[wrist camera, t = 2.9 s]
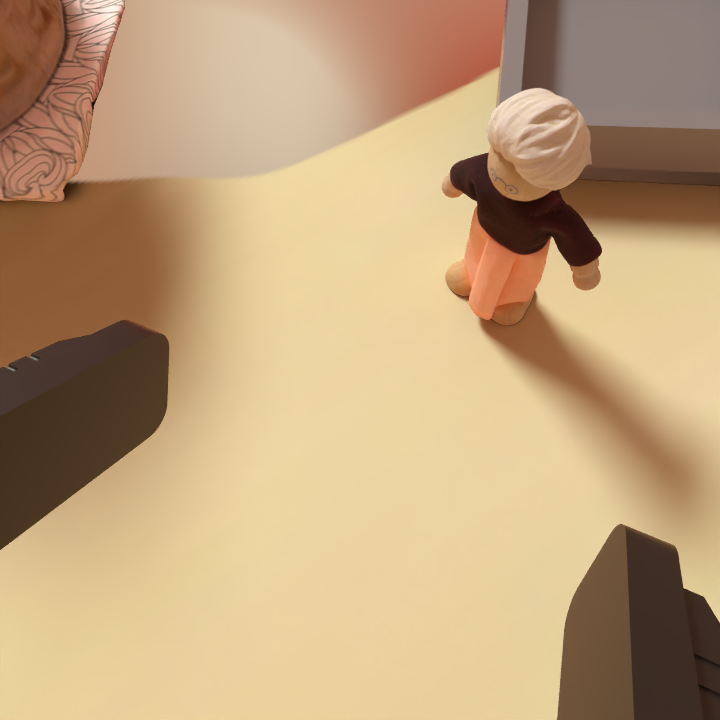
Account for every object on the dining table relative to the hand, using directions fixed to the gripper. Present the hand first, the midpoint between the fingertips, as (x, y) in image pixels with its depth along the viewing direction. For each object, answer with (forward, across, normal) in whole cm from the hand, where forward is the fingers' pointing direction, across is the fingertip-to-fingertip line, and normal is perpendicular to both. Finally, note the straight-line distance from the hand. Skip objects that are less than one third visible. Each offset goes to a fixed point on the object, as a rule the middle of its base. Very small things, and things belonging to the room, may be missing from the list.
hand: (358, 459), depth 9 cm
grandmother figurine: (+20, 0, +4) cm, 21 cm away
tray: (+32, -2, -8) cm, 33 cm away
